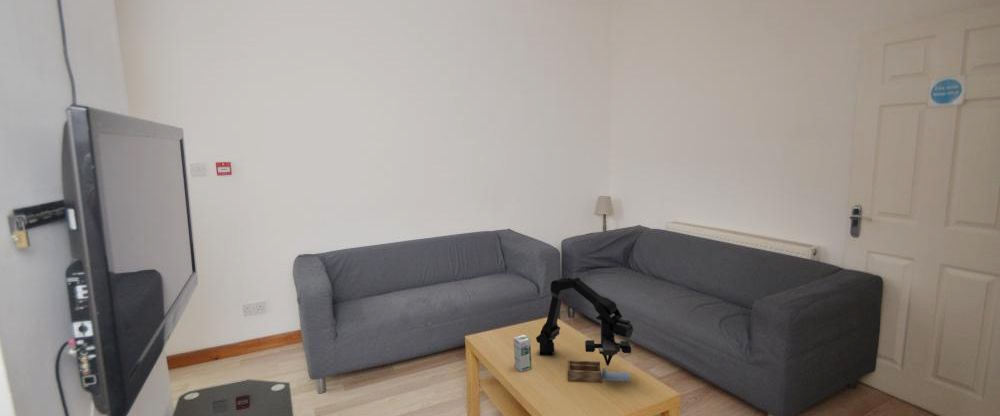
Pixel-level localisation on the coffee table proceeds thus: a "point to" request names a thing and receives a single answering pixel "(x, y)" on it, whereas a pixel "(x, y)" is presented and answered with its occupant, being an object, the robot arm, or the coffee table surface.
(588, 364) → the pencil box
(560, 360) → the coffee table surface
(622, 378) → the cover plate
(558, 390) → the coffee table surface
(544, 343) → the robot arm
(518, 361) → the syrup box
